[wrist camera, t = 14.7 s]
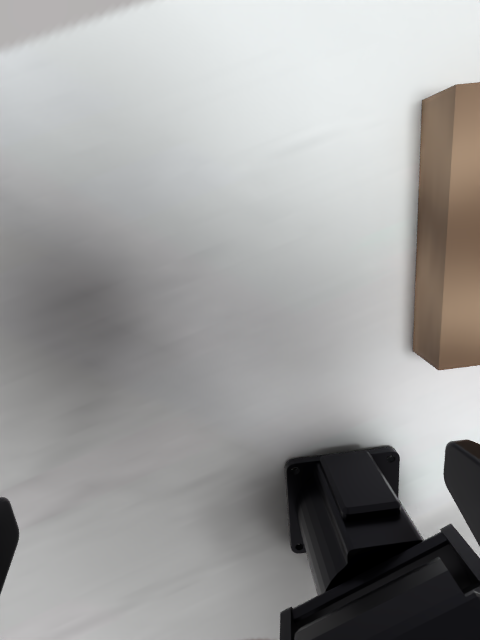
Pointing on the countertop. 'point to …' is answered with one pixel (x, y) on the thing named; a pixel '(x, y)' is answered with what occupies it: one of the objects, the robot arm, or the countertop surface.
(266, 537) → the countertop surface
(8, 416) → the countertop surface
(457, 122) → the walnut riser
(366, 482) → the robot arm
